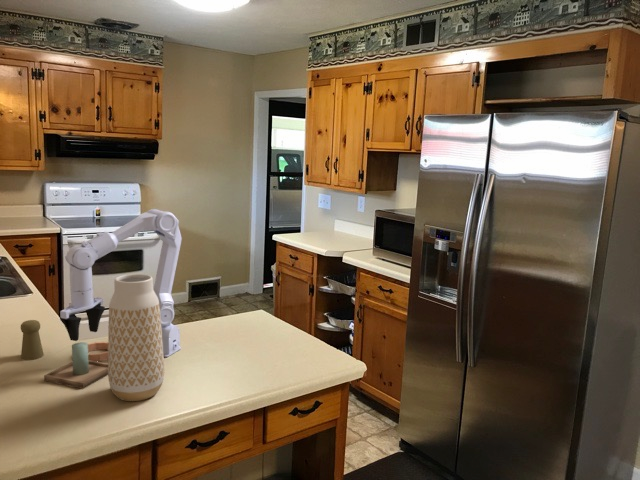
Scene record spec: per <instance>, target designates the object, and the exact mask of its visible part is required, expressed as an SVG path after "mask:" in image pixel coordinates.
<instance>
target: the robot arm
mask: <svg viewBox="0 0 640 480" xmlns="http://www.w3.org/2000/svg"><path fill="white" fill-rule="evenodd" d="M179 223H180V220H179V219H178V218H177V217H176V216H175V215H174V213H172V212H170V211H165V210H159V209H157V208H151V209H149V210H147V211H145V212H142V213H140V215H138V216H137V217H135V218H134V219H132V220H130V221H128V222H127V223H126V224H124V225H122V226H120V227H119V228H117V229H115V230H114V231H112V232H108V231H103V232H101V231H99V232H97V233H96V236H94V237H92V238H91V239H89V240H86V241H85V240H84V241H81V243H80V245H74V246H72V247H70V248H68V251H67V253H66V255H65V256H64V257H65V262H67V263H68V266H69V267H68V268H69V287H70V303H68V306H67V307H66V308H64V309H62V310H60V311H59V313H60V316H59V320H60V322H61V323H62V324H63V325H64V327H65V329H66V331H67V333H68V336H69V339H70V341H73V342H77V341H79V337H80V325H81V321H82V317H78V316H77V314H80V313H83V312H84V311H85V314H86V316H87V321H88V329H89V332H92V333H97V332H98V330H99V325H100V321H101V318H102V317H103V313H104V312H105V310H106V308H105V306H104V298H103V297H99V296H98V297H96V298H95V297H94V285H93V271H92V270H93V268H92V267H93V265H94V264H95V262H96V261H97V260H98V259H101V258H102V257H105V256H106V255H107V254H109V253H111V252H113V251H114V250H116V249H117V247H118V244H119V243H120V242H122V241H123V242H124V240H127V239H128V238H130V237H132V236H135V235H137V234H139V233H140V232H143V231H147V232H154V233H155V234H156V235H157V236H158V237H159V239H160V240H161V241H162V244H161V249H160V255H159V260H158V264H157V270H156V274H155V275H156V276H155V279H154V283H153V290H154V292H155V294H156V295H157V297H158V300H159V306H160V317H161V329H162V342H163V354H164V357H165V358H168V357H170V356H171V355H173V354H174V353H177V352H178V351H180V350H181V349H182V347H181V345H180V343H181V338H180V337H181V335H180V334H181V333H180V328H179V326H178V325H175V324H173V323H172V322H173V320H174V318H175V309H174V304H175V302H174V299H173V297H172V290H173V285H174V280H175V275H176V269H177V267H178V265H177V264H178V260H179V255H180V249H181V245H182V241H183V240H182V234H181V231H180V226H179Z"/></svg>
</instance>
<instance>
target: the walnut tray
mask: <svg viewBox="0 0 640 480" xmlns="http://www.w3.org/2000/svg"><path fill="white" fill-rule="evenodd" d="M88 362H89V372H88V373H87V374H85V375H74V374H73V361H71V362H69V363H67V364H64V365H63V366H60V367H58V368H56V369H55V370H53V371H50V372H48V373H46V374H44V375H43V378H44V379H43V380H44V381H43V382H49V383H54V384H58V385H63V386H69V387H73V388H79V389H85V388H87V387H89V386H91V385H92V384H94V383H96V382H98V381H100V380H101V379H103V378H105V377H108V362H103V361H99V362H97V361H91V360H88Z"/></svg>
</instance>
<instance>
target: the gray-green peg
mask: <svg viewBox="0 0 640 480" xmlns="http://www.w3.org/2000/svg"><path fill="white" fill-rule="evenodd" d="M88 344H89V343H87V342H76V343H73V344H72V345H71V354H72V355H71V358H72V359H71V360H72V362H73V374H74V375H85V374H87V373H88V372H89V362H88V354H89V352H88Z"/></svg>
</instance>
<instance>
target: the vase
mask: <svg viewBox="0 0 640 480" xmlns="http://www.w3.org/2000/svg"><path fill="white" fill-rule="evenodd" d="M113 280H114V282H113V283H114V292H113V293H112V296H111V298H110V301H109V304H108V305H109V306H108V326H107V327H108V333H107V334H108V336H107V337H108V338H107V342H108V350H107V351H108V360H107V363H108V375H107V377H108V378H107V379H108V383H109V388H110V390H111V391H112V393H113V394H114V395H115V396H116V397H117V398H118V399H120V400H121V401H127V402H139V401H144V400H147V399H150V398H152V397H154V396H155V395H156V394H157V393H158V392H159V391H160V390H161V388H162V385H163V383H164V378H165V359H164V354H163V342H162V329H161V317H160V306H159V300H158V297H157V295H156V294H155V292H154V290H153V289H154V281H153V276H152V275H149V274H145V273H130V274H123V275H118V276H117V277H115V278H114V279H113Z"/></svg>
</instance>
